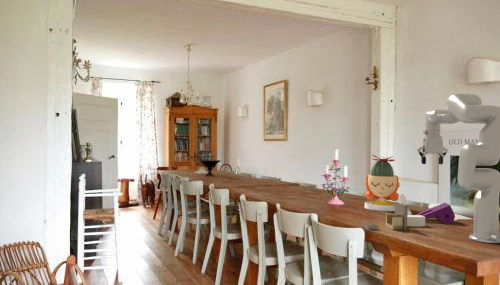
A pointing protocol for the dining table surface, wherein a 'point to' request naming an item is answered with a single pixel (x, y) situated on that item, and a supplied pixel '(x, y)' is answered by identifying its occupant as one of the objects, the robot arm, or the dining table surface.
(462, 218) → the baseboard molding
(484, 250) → the dining table surface
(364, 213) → the dining table surface
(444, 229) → the dining table surface
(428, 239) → the dining table surface
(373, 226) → the rest block
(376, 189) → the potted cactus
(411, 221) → the cream rail
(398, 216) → the cup bracket
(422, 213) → the mounting bracket
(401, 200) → the seated beast figurine
